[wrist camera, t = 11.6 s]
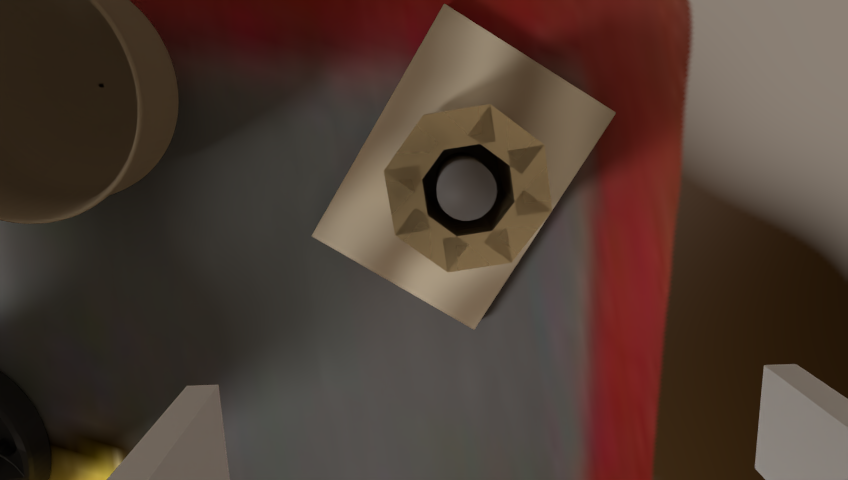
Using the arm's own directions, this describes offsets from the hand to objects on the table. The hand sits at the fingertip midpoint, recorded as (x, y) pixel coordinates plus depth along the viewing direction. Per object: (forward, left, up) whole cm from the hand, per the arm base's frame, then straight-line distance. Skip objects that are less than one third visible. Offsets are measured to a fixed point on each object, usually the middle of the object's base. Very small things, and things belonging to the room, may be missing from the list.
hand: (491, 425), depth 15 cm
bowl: (-23, -4, -25) cm, 34 cm away
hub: (-2, +3, -25) cm, 25 cm away
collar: (-1, +3, -23) cm, 23 cm away
